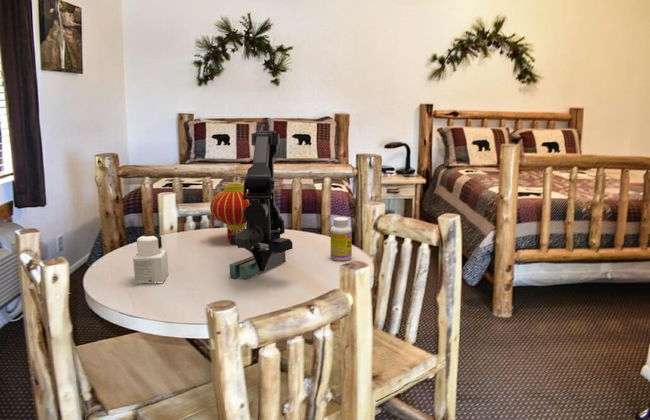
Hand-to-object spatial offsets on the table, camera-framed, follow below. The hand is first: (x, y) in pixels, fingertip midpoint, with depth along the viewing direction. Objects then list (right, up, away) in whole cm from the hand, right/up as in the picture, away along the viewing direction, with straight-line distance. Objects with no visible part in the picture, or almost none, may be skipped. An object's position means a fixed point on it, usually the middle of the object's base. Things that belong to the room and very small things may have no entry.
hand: (261, 271), depth 158 cm
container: (-31, -3, -1) cm, 31 cm away
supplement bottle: (+23, +2, +18) cm, 29 cm away
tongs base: (-1, 0, +8) cm, 8 cm away
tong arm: (0, 0, +5) cm, 5 cm away
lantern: (-13, +6, +40) cm, 43 cm away
